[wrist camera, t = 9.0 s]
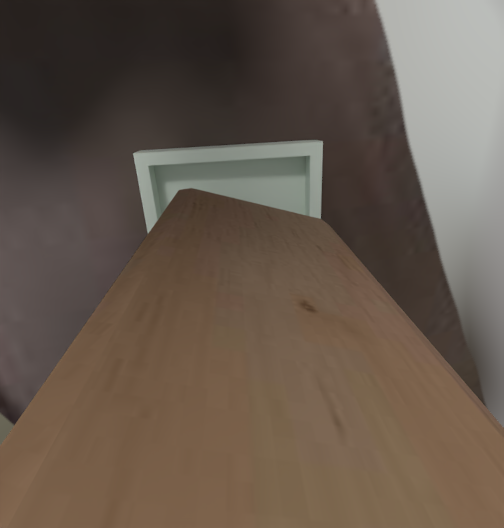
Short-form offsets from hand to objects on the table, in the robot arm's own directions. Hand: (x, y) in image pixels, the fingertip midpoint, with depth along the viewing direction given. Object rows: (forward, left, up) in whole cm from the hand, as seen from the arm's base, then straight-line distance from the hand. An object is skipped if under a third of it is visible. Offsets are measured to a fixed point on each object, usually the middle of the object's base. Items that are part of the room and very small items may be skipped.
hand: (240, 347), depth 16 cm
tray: (0, 0, -18) cm, 18 cm away
